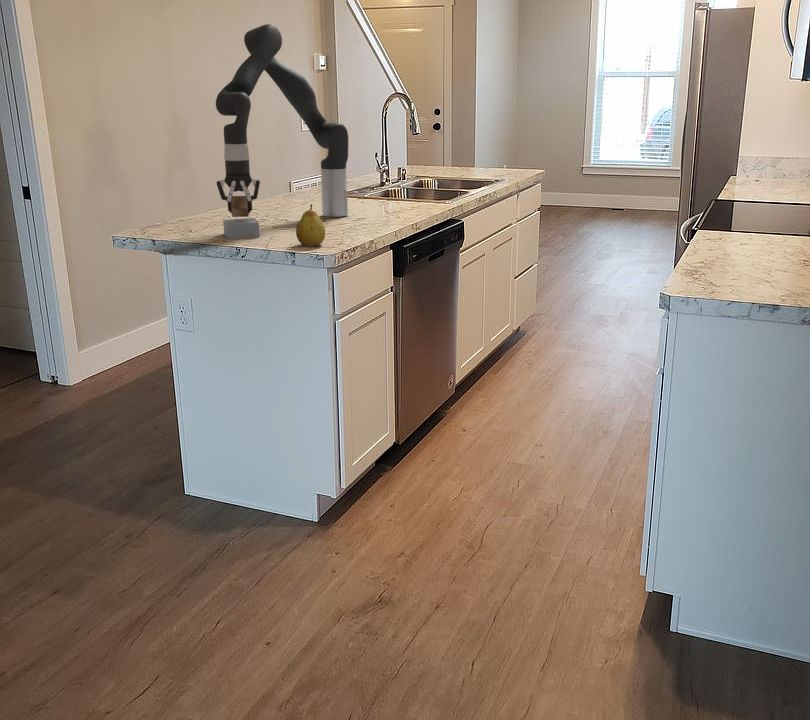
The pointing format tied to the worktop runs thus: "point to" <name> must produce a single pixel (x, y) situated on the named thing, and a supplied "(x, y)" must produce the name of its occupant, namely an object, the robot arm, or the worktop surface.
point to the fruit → (310, 229)
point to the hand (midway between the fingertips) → (240, 212)
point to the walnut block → (239, 206)
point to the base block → (241, 228)
